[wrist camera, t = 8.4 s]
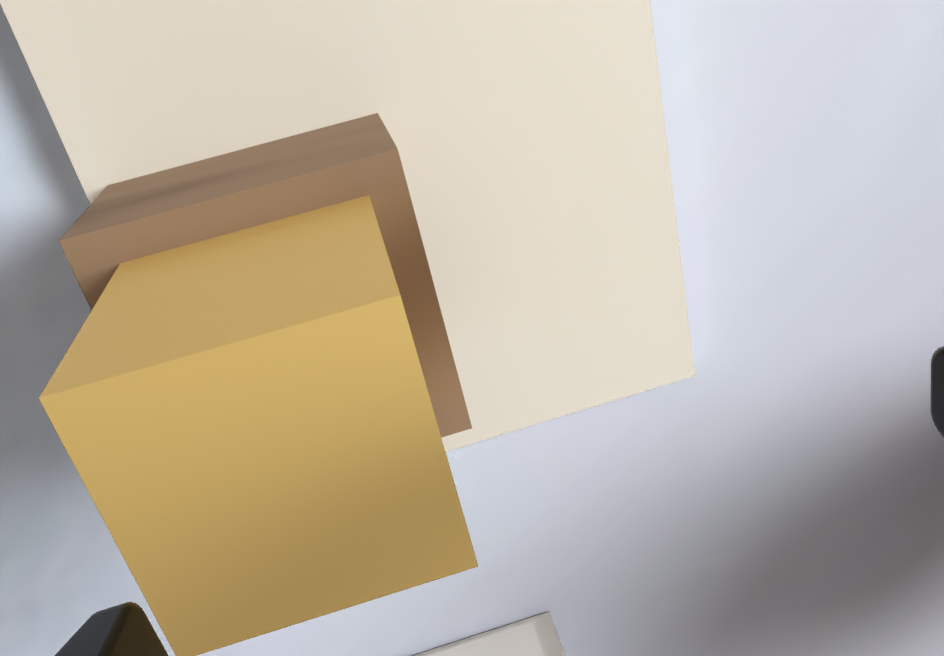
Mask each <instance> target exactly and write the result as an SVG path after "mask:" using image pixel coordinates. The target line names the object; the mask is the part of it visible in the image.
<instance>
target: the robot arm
mask: <svg viewBox="0 0 944 656" xmlns="http://www.w3.org/2000/svg"><path fill="white" fill-rule="evenodd" d="M931 415H932V419H933V421H934V424H935V426H936V428H937V429H938V431H939V432H940V434H941V435H942V436H943V437H944V346H943V347H940V348H938V349H937V350H936V351H935V352H934V354H933V356H932V359H931ZM55 656H168V654H167V652H166V650H165V649H164V647H163V645H162V643H161V641H160V640H159V638H158V636H157V634H156V632H155V631H154V629H153V627H152V625H151V623H150V622H149V620H148V618H147V616H146V614H145V613H144V611H143V610H142V608H141V607H140V606H139V605H138V604H136V603H132V602H127V603H124V604H121V605H117V606H114V607H111V608H108V609H105V610H101V611H99V612H96V613H95V614H93V615H92V616H91V617H90V618H89V619H88V620H87V621H86V622H85V623H84V624H83V626H82V627H81V628H80V629H79V630H78V631H77V632H76V633H75V634H74V635H73V636H72V637H71V639H70V640H69V641H68V642H67V643H66V644H65V645H64V646H63V647H62V648H61V649H60V651H59V652H58V653H57V654H56V655H55Z"/></svg>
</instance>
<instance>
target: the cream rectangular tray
mask: <svg viewBox="0 0 944 656" xmlns="http://www.w3.org/2000/svg"><path fill="white" fill-rule="evenodd" d="M413 656H565V653H564V650H563V647H562V645H561V642H560V640H559V637H558V635H557V632H556V629H555V627H554V624H553V622H552V619H551V617H550V614H549V612H546V613H543V614H540V615H536V616H533V617H530V618H527V619H524V620H521V621H518V622H515V623H512V624H509V625H506V626H503V627H500V628H496V629H493V630H490V631H487V632H484V633H481V634H478V635H475V636H472V637H469V638H466V639H463V640H459V641H456V642H453V643H450V644H447V645H444V646H441V647H438V648H435V649H432V650H429V651H426V652H422V653H419V654H416V655H413Z"/></svg>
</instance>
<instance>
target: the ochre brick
mask: <svg viewBox="0 0 944 656" xmlns="http://www.w3.org/2000/svg"><path fill="white" fill-rule="evenodd" d="M39 400H40V402H41V404H42V406H43V408H44V409H45V411H46V413H47V415H48V417H49V419H50V421H51V423H52V424H53V426H54V428H55V430H56V432H57V434H58V436H59V438H60V439H61V441H62V443H63V445H64V447H65V449H66V451H67V453H68V454H69V456H70V458H71V460H72V462H73V464H74V466H75V468H76V470H77V471H78V473H79V475H80V477H81V479H82V481H83V483H84V485H85V486H86V488H87V490H88V492H89V494H90V496H91V498H92V500H93V501H94V503H95V505H96V507H97V509H98V511H99V513H100V515H101V516H102V518H103V520H104V522H105V524H106V526H107V528H108V530H109V531H110V533H111V535H112V537H113V539H114V541H115V543H116V545H117V546H118V548H119V550H120V552H121V554H122V556H123V558H124V560H125V561H126V563H127V565H128V567H129V569H130V571H131V573H132V575H133V576H134V578H135V580H136V582H137V584H138V586H139V588H140V590H141V591H142V593H143V595H144V597H145V599H146V601H147V603H148V605H149V606H150V608H151V610H152V612H153V614H154V616H155V618H156V620H157V622H158V623H159V625H160V627H161V629H162V631H163V633H164V635H165V637H166V638H167V640H168V642H169V644H170V646H171V648H172V650H173V652H174V653H175V655H176V656H196V655H199V654H203V653H206V652H209V651H212V650H215V649H218V648H222V647H225V646H228V645H231V644H234V643H237V642H241V641H244V640H247V639H250V638H253V637H256V636H260V635H263V634H266V633H269V632H272V631H275V630H279V629H282V628H285V627H288V626H291V625H294V624H298V623H301V622H304V621H307V620H310V619H313V618H316V617H320V616H323V615H326V614H329V613H332V612H335V611H339V610H342V609H345V608H348V607H351V606H354V605H358V604H361V603H364V602H367V601H370V600H373V599H377V598H380V597H383V596H386V595H389V594H392V593H396V592H399V591H402V590H405V589H408V588H411V587H415V586H418V585H421V584H424V583H427V582H430V581H434V580H437V579H440V578H443V577H446V576H449V575H453V574H456V573H459V572H462V571H465V570H468V569H471V568H475V567H478V564H477V560H476V557H475V553H474V550H473V546H472V543H471V539H470V536H469V532H468V529H467V525H466V522H465V518H464V515H463V512H462V508H461V505H460V501H459V498H458V494H457V491H456V487H455V484H454V480H453V477H452V473H451V470H450V466H449V463H448V459H447V456H446V452H445V449H444V445H443V442H442V438H441V435H440V431H439V428H438V424H437V421H436V417H435V414H434V410H433V407H432V403H431V400H430V396H429V393H428V389H427V386H426V382H425V379H424V375H423V372H422V368H421V365H420V362H419V358H418V355H417V351H416V348H415V344H414V341H413V337H412V334H411V330H410V327H409V323H408V320H407V316H406V313H405V309H404V306H403V302H402V299H401V295H400V292H399V289H398V286H397V283H396V279H395V276H394V273H393V270H392V267H391V263H390V260H389V257H388V254H387V251H386V247H385V244H384V241H383V238H382V235H381V232H380V228H379V225H378V222H377V219H376V216H375V212H374V209H373V206H372V203H371V200H370V197H369V195H368V196H364V197H360V198H357V199H353V200H349V201H346V202H342V203H338V204H335V205H331V206H327V207H324V208H320V209H317V210H313V211H309V212H306V213H302V214H298V215H295V216H291V217H287V218H284V219H280V220H276V221H273V222H269V223H265V224H262V225H258V226H255V227H251V228H247V229H244V230H240V231H236V232H233V233H229V234H225V235H222V236H218V237H214V238H211V239H207V240H204V241H200V242H196V243H193V244H189V245H185V246H182V247H178V248H174V249H171V250H167V251H163V252H160V253H156V254H153V255H149V256H145V257H142V258H138V259H134V260H131V261H127V262H123V263H120V264H119V266H118V268H117V269H116V271H115V273H114V274H113V276H112V278H111V279H110V281H109V283H108V284H107V286H106V288H105V289H104V291H103V293H102V294H101V296H100V298H99V299H98V301H97V303H96V304H95V306H94V307H93V309H92V311H91V312H90V314H89V316H88V317H87V319H86V321H85V322H84V324H83V326H82V327H81V329H80V331H79V332H78V334H77V336H76V337H75V339H74V341H73V342H72V344H71V346H70V347H69V349H68V351H67V352H66V354H65V356H64V357H63V359H62V360H61V362H60V364H59V365H58V367H57V369H56V370H55V372H54V374H53V375H52V377H51V379H50V380H49V382H48V384H47V385H46V387H45V389H44V390H43V392H42V394H41V395H40V397H39Z"/></svg>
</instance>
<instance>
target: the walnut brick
mask: <svg viewBox="0 0 944 656" xmlns="http://www.w3.org/2000/svg"><path fill="white" fill-rule="evenodd" d="M368 195H369V197H370V200H371V203H372V206H373V209H374V212H375V216H376V219H377V222H378V225H379V228H380V232H381V235H382V238H383V241H384V244H385V247H386V251H387V254H388V257H389V260H390V263H391V267H392V270H393V273H394V276H395V279H396V283H397V286H398V289H399V292H400V295H401V299H402V302H403V306H404V309H405V313H406V316H407V320H408V323H409V327H410V330H411V334H412V337H413V341H414V344H415V348H416V351H417V355H418V358H419V362H420V365H421V368H422V372H423V375H424V379H425V382H426V386H427V389H428V393H429V396H430V400H431V403H432V407H433V410H434V414H435V417H436V421H437V424H438V428H439V431H440V435H441V438H442V437H445V436H448V435H452V434H455V433H458V432H462V431H465V430H468V429H472V425H471V422H470V418H469V414H468V410H467V407H466V403H465V399H464V395H463V392H462V388H461V384H460V380H459V377H458V373H457V369H456V365H455V362H454V358H453V354H452V350H451V347H450V343H449V339H448V335H447V332H446V328H445V324H444V320H443V317H442V313H441V309H440V305H439V302H438V298H437V294H436V290H435V287H434V283H433V279H432V275H431V272H430V268H429V264H428V260H427V257H426V253H425V249H424V246H423V242H422V238H421V234H420V231H419V227H418V223H417V219H416V216H415V212H414V208H413V204H412V201H411V197H410V193H409V189H408V186H407V182H406V178H405V174H404V171H403V167H402V163H401V159H400V156H399V152H398V148H397V147H396V145H395V143H394V141H393V139H392V138H391V136H390V134H389V132H388V130H387V129H386V127H385V125H384V123H383V121H382V120H381V118H380V116H379V114H378V113H376V114H372V115H368V116H364V117H361V118H357V119H353V120H349V121H346V122H342V123H338V124H334V125H331V126H327V127H323V128H320V129H316V130H312V131H308V132H305V133H301V134H297V135H293V136H290V137H286V138H282V139H278V140H275V141H271V142H267V143H264V144H260V145H256V146H252V147H249V148H245V149H241V150H237V151H234V152H230V153H226V154H222V155H219V156H215V157H211V158H207V159H204V160H200V161H196V162H193V163H189V164H185V165H181V166H178V167H174V168H170V169H166V170H163V171H159V172H155V173H151V174H148V175H144V176H140V177H137V178H133V179H129V180H125V181H122V182H118V183H114V184H110V185H107V187H106V188H105V189H104V190H103V191H102V192H101V193H100V195H99V196H98V197H97V198H96V199H95V200H94V201H93V202H92V204H91V205H90V206H89V207H88V208H87V209H86V210H85V212H84V213H83V214H82V215H81V216H80V217H79V218H78V220H77V221H76V222H75V223H74V224H73V225H72V226H71V228H70V229H69V230H68V231H67V232H66V233H65V234H64V235H63V237H62V238H61V239H60V240H59V243H60V245H61V247H62V249H63V251H64V253H65V255H66V258H67V260H68V262H69V264H70V266H71V268H72V270H73V272H74V274H75V276H76V279H77V281H78V283H79V285H80V287H81V289H82V291H83V293H84V295H85V298H86V300H87V302H88V304H89V306H90V308H91V310H92V309H93V307H94V306H95V304H96V303H97V301H98V299H99V298H100V296H101V294H102V293H103V291H104V289H105V288H106V286H107V284H108V283H109V281H110V279H111V278H112V276H113V274H114V273H115V271H116V269H117V268H118V266H119V264H120V263H123V262H127V261H131V260H134V259H138V258H142V257H145V256H149V255H153V254H156V253H160V252H163V251H167V250H171V249H174V248H178V247H182V246H185V245H189V244H193V243H196V242H200V241H204V240H207V239H211V238H214V237H218V236H222V235H225V234H229V233H233V232H236V231H240V230H244V229H247V228H251V227H255V226H258V225H262V224H265V223H269V222H273V221H276V220H280V219H284V218H287V217H291V216H295V215H298V214H302V213H306V212H309V211H313V210H317V209H320V208H324V207H327V206H331V205H335V204H338V203H342V202H346V201H349V200H353V199H357V198H360V197H364V196H368Z"/></svg>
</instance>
